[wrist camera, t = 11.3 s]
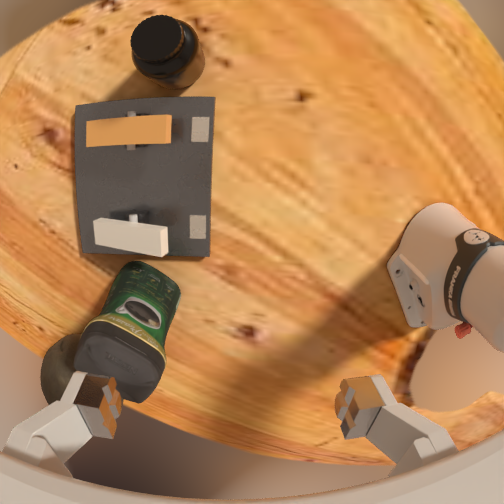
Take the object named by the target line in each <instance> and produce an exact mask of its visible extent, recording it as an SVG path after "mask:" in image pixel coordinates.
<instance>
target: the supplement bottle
mask: <svg viewBox="0 0 504 504" xmlns="http://www.w3.org/2000/svg"><path fill="white" fill-rule="evenodd" d="M131 47H132V60H133V63H134V65H135V66H136V68H137V69H138V70H139V71H140V72H141V73H142V74H143V75H145V76H146V77H148V78H149V79H151V80H152V81H154V82H155V83H157V84H158V85H160V86H162V87H164V88H167V89H182V88H185V87H187V86H189V85H191V84H193V83H194V82H195V81H196V80H197V79H198V78H199V77H200V75H201V74H202V72H203V69H204V65H205V58H204V54H203V50H202V48H201V45H200V42H199V39H198V36H197V34H196V32H195V31H194V29H193V28H192V27H191V26H190V25H189V24H187V23H186V22H184V21H181V20H178V19H174V18H172V17H169V16H167V15H165V16H164V15H156V16H152V17H150V18H147V19H146V20H144V21H142V22H141V23H140V24H138V26H137V27H136V28H135V30H134V31H133V34H132V36H131Z"/></svg>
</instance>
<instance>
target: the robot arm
mask: <svg viewBox="0 0 504 504" xmlns="http://www.w3.org/2000/svg"><path fill="white" fill-rule="evenodd" d="M387 269H388V272H389V274H390V277H391V279H392V282H393V285H394V287H395V290H396V293H397V295H398V298H399V301H400V304H401V306H402V309H403V312H404V315H405V318H406V321H407V323H408V325H409V326H410V327H423V326H428V327H430V328H431V329H435V330H439V329H444V328H447V327H449V326H451V325H453V324H455V323H457V322H459V321H463V323H462V324H460V325H457V326H456V327H455V333H456V335H457V337H458V338H459V339H460V338H463V337H464V336H465V335H467V334H469V333H470V332H471V328H472V327H474V328H475V329H476V330H477V331H478V332H479V333H480V334H481V335H482V336H483V337H484V338H485V339H486V340H487V341H488V342H489V344H490V345H492V347H493V348H494V349H496V350H498V351H500V352H504V241H503V240H501V239H500V238H498V237H496V236H494V235H492V234H490V233H488V232H486V231H483V230H480V229H479V228H478V227H476V225H475V224H474V223H472V222H471V221H469V220H468V219H466V218H465V217H464V216H463V215H462V214H461V213H460V212H459V211H458V210H457V209H456V208H455V207H453V206H452V205H450V204H446V203H435V204H432V205H430V206H427V207H426V208H424V209H423V210H421V211H420V212H419V213H418V214H417V215H416V216H415V217H414V218H413V219H412V221H411V222H410V223H409V225H408V227H407V228H406V230H405V232H404V235H403V237H402V240H401V243H400V245H399V247H398V249H397V250H396V252H395V253H394V254H393V255H392V257H391V258H390V260H389V261H388V263H387ZM397 270H398V271H397ZM396 271H397V272H396ZM116 385H117V384H116V381H115V378H114V377H110V376H104V375H98V374H92V373H86V372H80V371H76V372H74V373H73V375H72V377H71V379H70V381H69V383H68V385H67V387H66V390H65V392H64V394H63V396H62V398H61V400H60V401H55V402H54V403H52V404H50V405H49V406H47V407H46V408H44V409H42V410H41V411H39V412H38V413H36V414H35V415H33V416H31V417H30V418H28V419H27V420H25V421H24V422H22V423H20V424H19V425H17V426H15V427H14V428H13V430H12V432H11V434H10V436H9V439H8V440H7V442H6V444H5V447H4V449H3V451H2V452H1V451H0V504H504V428H503V430H501V431H500V432H498V433H496V434H494V435H492V436H490V437H488V438H486V439H484V440H482V441H480V442H478V443H476V444H474V445H472V446H470V447H468V448H466V449H464V450H461V451H458V449H457V448H456V446H455V444H454V442H453V441H452V439H451V437H450V436H449V434H448V432H447V430H446V429H445V428H443V427H441V426H439V425H438V424H436V423H434V422H432V421H431V420H429V419H427V418H426V417H424V416H422V415H420V414H419V413H417V412H415V411H414V410H412V409H410V408H409V407H407V406H405V405H404V404H402V403H397V401H396V400H395V398H394V396H393V394H392V392H391V391H390V389H389V387H388V385H387V383H386V382H385V380H384V378H383V376H382V375H380V374H378V375H371V376H364V377H356V378H348V379H343V380H342V381H341V384H340V389H341V391H340V392H339V393H338V394H337V395H336V399H335V412H336V415H337V418H339V419H340V420H342V424H341V426H340V427H341V430H342V432H343V435H344V438H345V440H346V439H353V438H359V437H365V436H366V438H367V439H368V440H369V441H370V442H371V443H373V444H374V445H375V446H376V447H377V448H378V449H380V450H381V451H382V452H383V453H384V454H386V455H387V456H388V457H389V458H390V459H391V460H393V461H394V462H395V463H396V466H395V467H394V468H393V469H392V470H391V472H390V473H389V475H388V476H389V477H388V478H384V479H381V480H377V481H373V482H369V483H365V484H361V485H356V486H352V487H347V488H342V489H337V490H332V491H326V492H320V493H313V494H306V495H298V496H289V497H279V498H265V499H244V500H214V499H212V500H211V499H191V498H178V497H167V496H159V495H150V494H144V493H136V492H131V491H126V490H120V489H115V488H110V487H106V486H101V485H97V484H92V483H89V482H85V481H81V480H78V479H74V478H72V474H71V473H70V472H69V471H68V469H67V468H66V467H65V465H64V462H66V461H67V460H68V459H69V458H70V457H71V456H72V455H73V454H74V453H75V452H76V451H78V450H79V449H80V448H81V447H82V446H83V445H84V444H85V443H86V442H87V441H88V440H89V439H90V438H91V437H92V436H98V437H104V438H110V439H113V437H114V434H115V430H116V427H117V425H116V422H115V419H116V418H117V417H119V415H120V412H121V403H122V402H121V396H120V393H119V392H118V391H117V390H116V389H115V388H116Z"/></svg>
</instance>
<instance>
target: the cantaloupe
mask: <svg viewBox="0 0 504 504" xmlns="http://www.w3.org/2000/svg"><path fill="white" fill-rule="evenodd" d="M81 335H82V334H71V335H67V336H65V337H64V338H62V339H61V340H59V341H58V342H57V343H55V344H54V345H53V346H52V347H51V348H50V349H49V350H48V351H47V353H46V355H45V357H44V359H43V363H42V368H41V387H42V391H43V393H44V396H45V398H46V400H47V402H48V404H49V405H50V404H52V403H54V402H55V401H60V400H61V398H62V396H63V394H64V392H65V390H66V387H67V385H68V383H69V381H70V379H71V377H72V375H73V373H74V372H76V371H77V370H76V369H75V368H74V358H75V354H76V351H77V347H78V343H79V340H80V337H81ZM121 402H122V403H121V408H122V404H123V398H121Z"/></svg>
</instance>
